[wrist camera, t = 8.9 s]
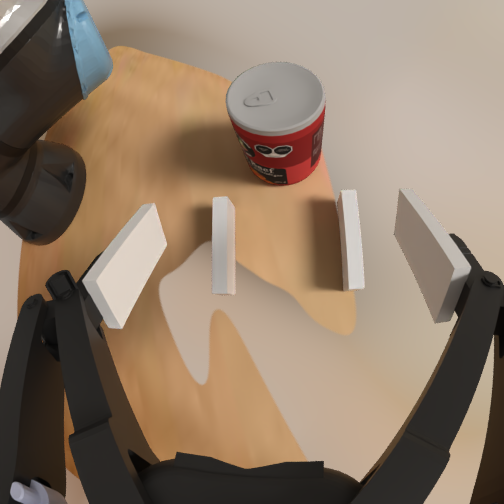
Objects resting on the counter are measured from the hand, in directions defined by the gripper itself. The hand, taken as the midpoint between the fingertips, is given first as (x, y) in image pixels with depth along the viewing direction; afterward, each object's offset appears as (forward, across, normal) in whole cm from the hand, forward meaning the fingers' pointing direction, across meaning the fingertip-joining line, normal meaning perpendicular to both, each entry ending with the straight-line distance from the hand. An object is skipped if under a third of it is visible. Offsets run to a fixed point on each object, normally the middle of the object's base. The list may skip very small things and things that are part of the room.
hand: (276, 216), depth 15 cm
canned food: (+19, 0, -2) cm, 19 cm away
